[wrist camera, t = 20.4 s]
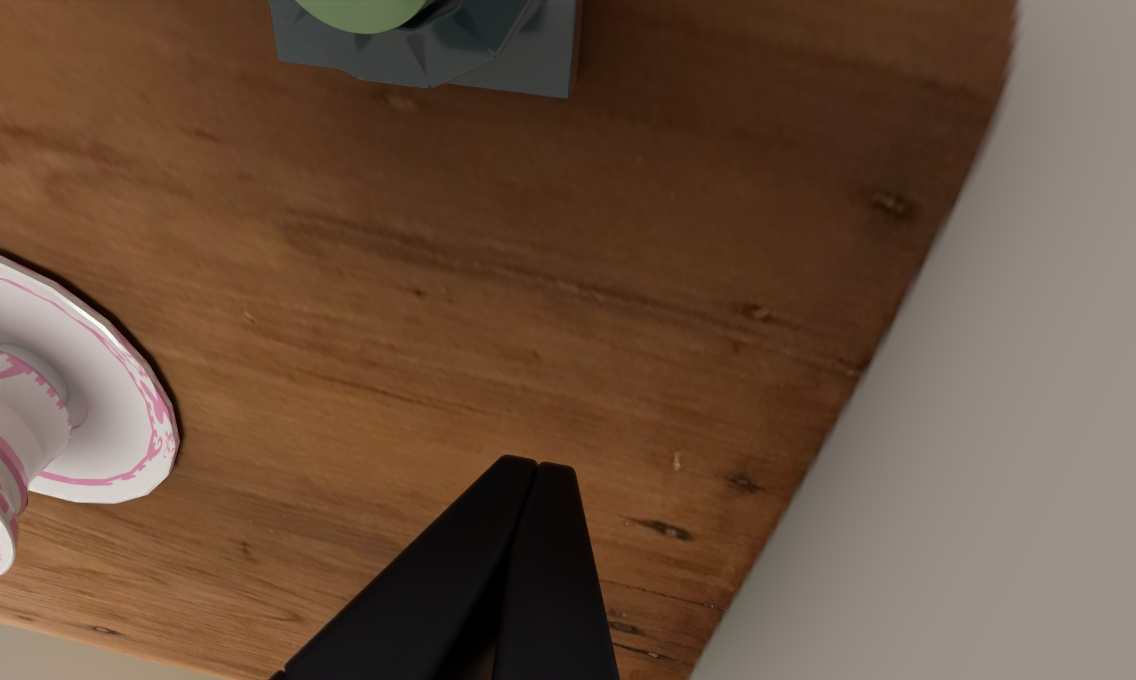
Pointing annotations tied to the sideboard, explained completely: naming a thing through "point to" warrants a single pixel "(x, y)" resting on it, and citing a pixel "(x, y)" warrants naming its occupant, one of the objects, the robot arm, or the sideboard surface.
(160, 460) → the teacup
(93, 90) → the sideboard surface
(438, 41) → the button base
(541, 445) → the sideboard surface
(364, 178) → the sideboard surface
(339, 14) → the green short cylinder
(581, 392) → the sideboard surface
